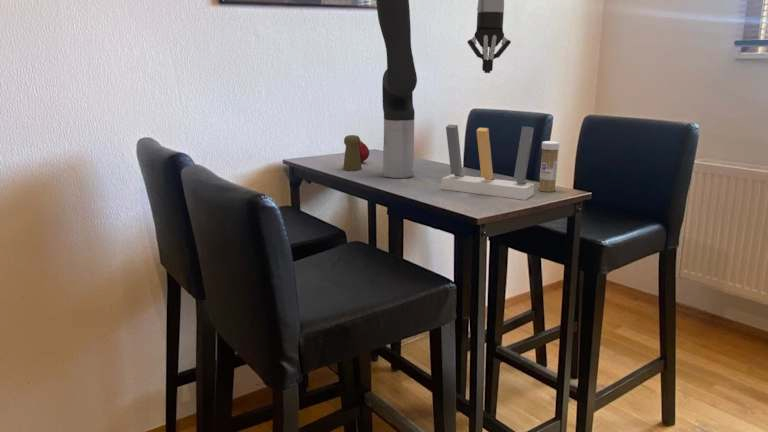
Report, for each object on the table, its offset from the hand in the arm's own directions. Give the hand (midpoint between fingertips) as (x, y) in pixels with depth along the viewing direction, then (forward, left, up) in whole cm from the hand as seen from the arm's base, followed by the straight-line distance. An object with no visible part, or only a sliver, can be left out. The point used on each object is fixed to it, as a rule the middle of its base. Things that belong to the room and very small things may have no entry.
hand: (487, 72), depth 177 cm
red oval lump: (-39, +19, -31) cm, 53 cm away
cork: (-41, +8, -31) cm, 52 cm away
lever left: (-10, -19, -27) cm, 34 cm away
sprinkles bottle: (+15, -21, -31) cm, 40 cm away
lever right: (+6, -28, -27) cm, 39 cm away
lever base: (-2, -23, -31) cm, 39 cm away
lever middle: (-2, -23, -27) cm, 36 cm away
